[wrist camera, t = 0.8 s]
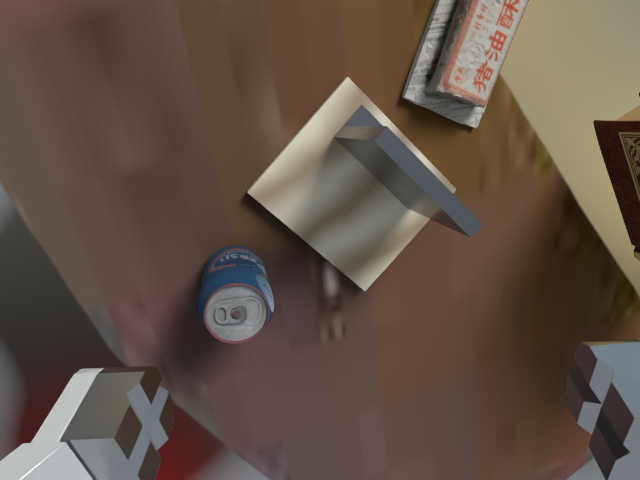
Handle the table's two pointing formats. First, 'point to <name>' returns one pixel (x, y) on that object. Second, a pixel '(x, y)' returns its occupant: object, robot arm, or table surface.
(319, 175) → the shelf plank
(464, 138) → the table surface
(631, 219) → the decorative book
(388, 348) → the table surface
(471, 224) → the bookend
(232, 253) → the soda can
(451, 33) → the packaged product
